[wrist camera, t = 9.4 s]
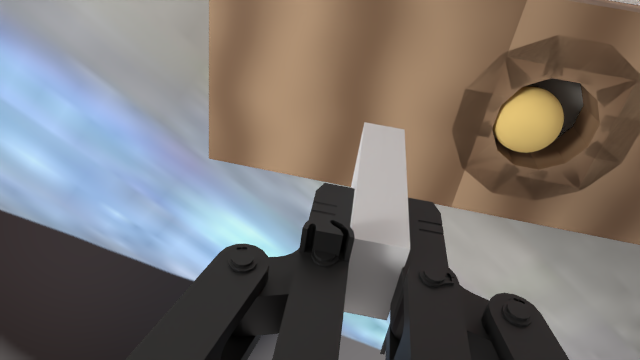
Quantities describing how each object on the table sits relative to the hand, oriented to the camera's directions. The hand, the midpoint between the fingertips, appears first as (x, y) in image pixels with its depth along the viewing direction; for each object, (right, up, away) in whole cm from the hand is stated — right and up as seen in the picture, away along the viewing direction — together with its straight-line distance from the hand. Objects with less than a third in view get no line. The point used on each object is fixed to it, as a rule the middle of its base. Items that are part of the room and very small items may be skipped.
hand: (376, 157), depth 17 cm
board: (+5, +4, +8) cm, 11 cm away
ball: (+9, +2, +7) cm, 11 cm away
